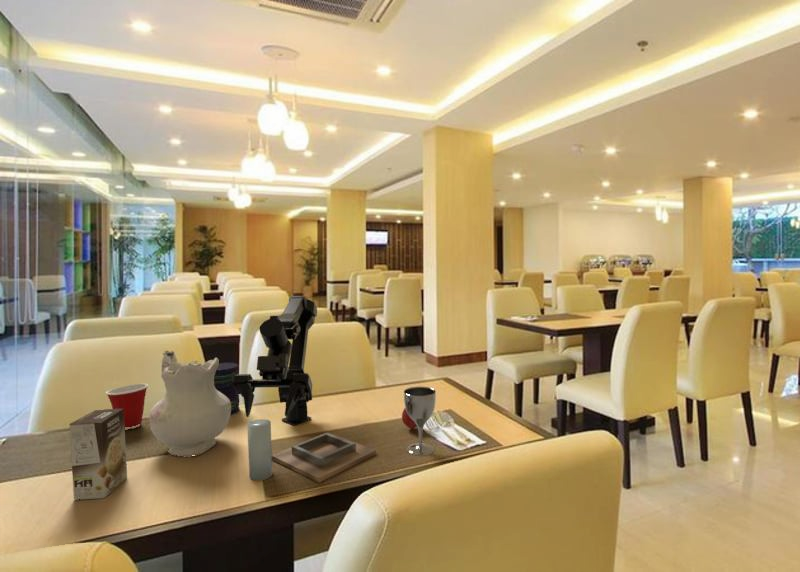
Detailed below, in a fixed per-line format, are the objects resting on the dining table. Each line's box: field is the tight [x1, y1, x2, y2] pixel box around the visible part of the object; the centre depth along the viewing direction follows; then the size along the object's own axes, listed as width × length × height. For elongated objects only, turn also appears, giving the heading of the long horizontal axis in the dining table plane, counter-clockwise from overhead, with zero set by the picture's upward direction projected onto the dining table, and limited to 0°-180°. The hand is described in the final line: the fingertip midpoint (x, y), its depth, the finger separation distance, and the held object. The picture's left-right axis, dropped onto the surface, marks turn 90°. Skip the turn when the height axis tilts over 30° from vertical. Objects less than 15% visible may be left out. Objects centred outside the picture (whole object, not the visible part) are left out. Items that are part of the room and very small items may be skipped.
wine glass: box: [403, 386, 437, 457], centre depth 113 cm, size 8×8×15 cm
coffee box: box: [69, 408, 128, 501], centre depth 97 cm, size 9×6×16 cm
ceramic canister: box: [246, 418, 274, 482], centre depth 101 cm, size 5×5×12 cm
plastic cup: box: [105, 383, 149, 427], centre depth 133 cm, size 11×11×12 cm
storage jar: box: [214, 362, 240, 416], centre depth 144 cm, size 10×10×15 cm
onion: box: [401, 407, 417, 430], centre depth 127 cm, size 6×6×8 cm
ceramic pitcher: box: [148, 350, 231, 458], centre depth 117 cm, size 22×20×25 cm
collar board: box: [272, 432, 377, 483], centre depth 111 cm, size 18×18×3 cm
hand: (266, 415), depth 106 cm, fingers open, 9 cm apart
